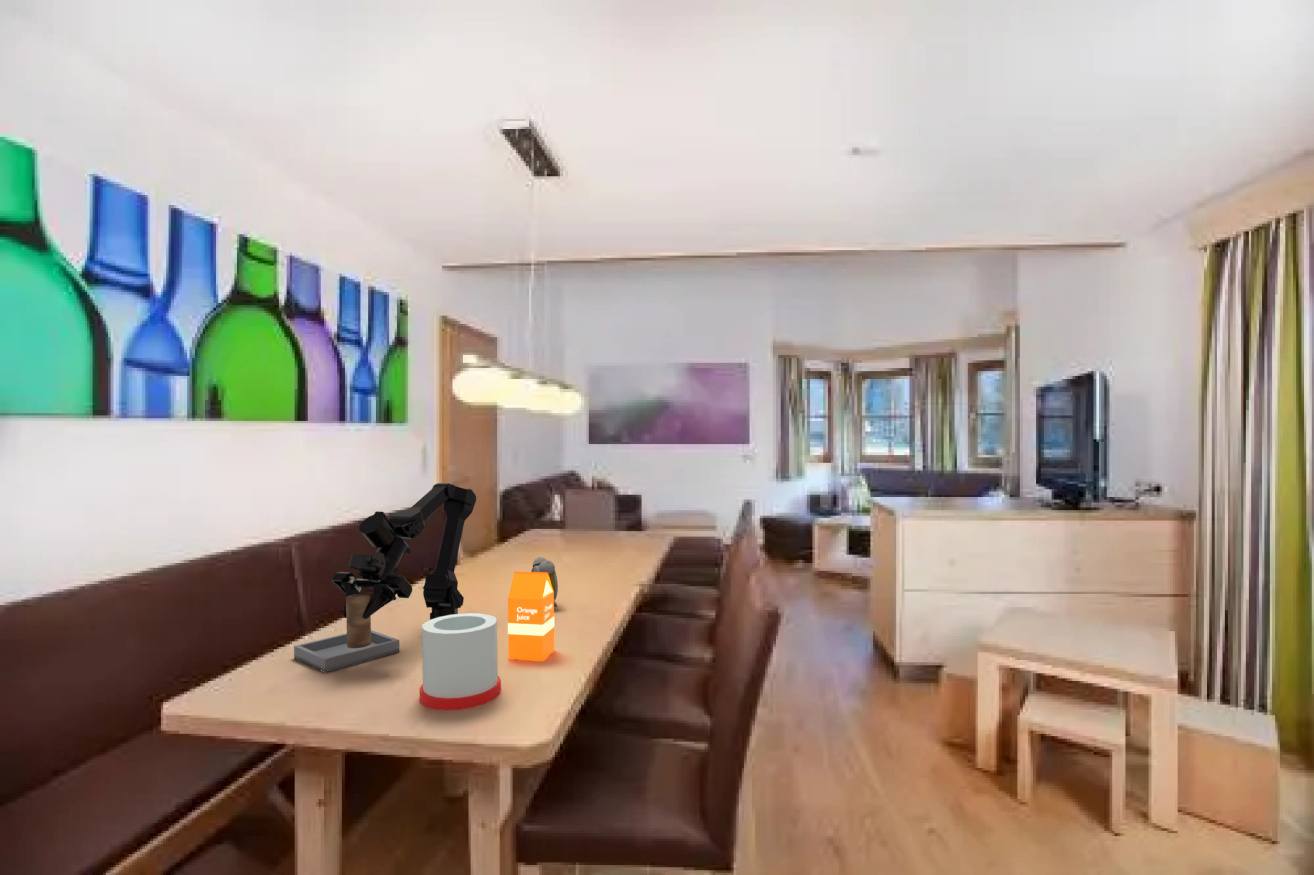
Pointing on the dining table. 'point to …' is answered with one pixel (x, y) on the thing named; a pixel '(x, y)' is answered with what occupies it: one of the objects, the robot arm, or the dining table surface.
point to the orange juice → (530, 616)
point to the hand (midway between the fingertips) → (354, 617)
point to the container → (459, 661)
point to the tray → (344, 651)
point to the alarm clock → (547, 567)
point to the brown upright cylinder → (357, 621)
